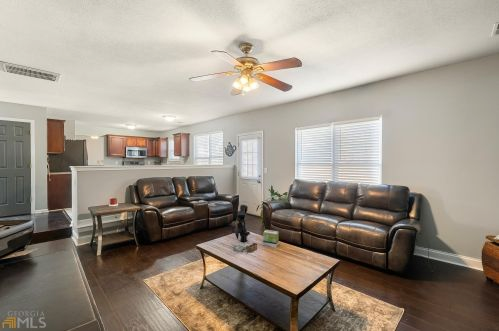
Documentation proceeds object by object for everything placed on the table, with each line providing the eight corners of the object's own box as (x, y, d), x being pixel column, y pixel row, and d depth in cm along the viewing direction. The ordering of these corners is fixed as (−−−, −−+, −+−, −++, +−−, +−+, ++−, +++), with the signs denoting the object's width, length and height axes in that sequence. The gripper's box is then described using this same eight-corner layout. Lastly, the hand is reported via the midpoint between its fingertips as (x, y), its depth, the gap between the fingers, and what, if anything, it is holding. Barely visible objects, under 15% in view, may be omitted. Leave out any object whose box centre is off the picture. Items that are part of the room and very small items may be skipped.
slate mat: (233, 249, 230) (233, 249, 230) (241, 246, 240) (241, 245, 240) (240, 252, 224) (240, 251, 224) (248, 248, 235) (248, 247, 234)
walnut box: (250, 253, 222) (250, 247, 222) (246, 251, 225) (246, 245, 225) (257, 249, 232) (257, 243, 232) (253, 248, 235) (253, 242, 235)
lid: (240, 251, 226) (240, 248, 226) (235, 249, 230) (235, 246, 230) (246, 247, 234) (246, 245, 234) (241, 246, 238) (241, 244, 238)
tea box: (262, 245, 242) (262, 231, 242) (265, 242, 252) (265, 229, 251) (276, 247, 237) (276, 233, 236) (278, 244, 246) (278, 231, 246)
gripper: (229, 225, 230) (229, 240, 231) (243, 228, 219) (243, 244, 219) (236, 222, 239) (236, 237, 240) (250, 226, 228) (250, 241, 228)
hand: (241, 240), depth 232 cm, fingers open, 9 cm apart
